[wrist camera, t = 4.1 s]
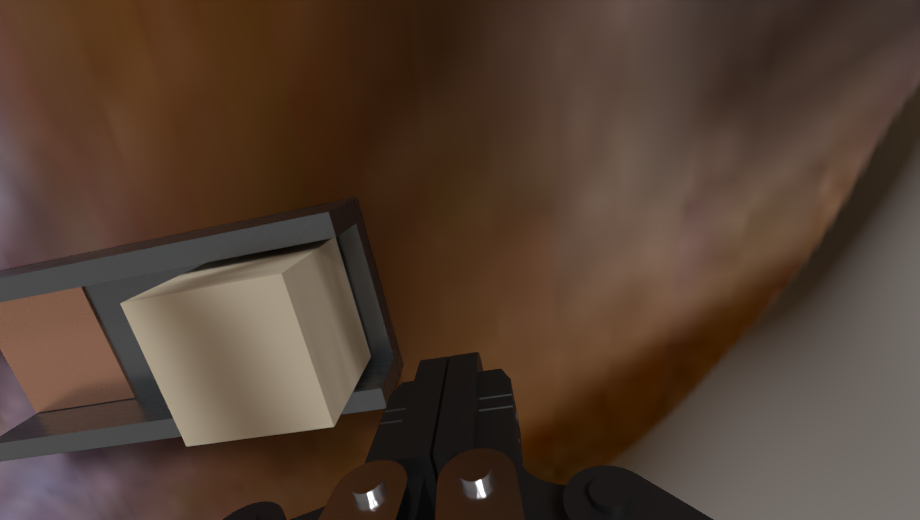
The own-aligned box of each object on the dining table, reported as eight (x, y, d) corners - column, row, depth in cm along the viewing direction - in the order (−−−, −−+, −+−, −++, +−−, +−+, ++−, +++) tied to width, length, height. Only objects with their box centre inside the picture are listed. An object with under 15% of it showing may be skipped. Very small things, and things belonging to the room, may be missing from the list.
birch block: (335, 236, 19) (281, 273, 14) (371, 356, 20) (334, 427, 16) (211, 260, 19) (120, 303, 15) (255, 374, 21) (186, 446, 16)
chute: (356, 197, 19) (328, 211, 16) (403, 365, 22) (387, 408, 18) (-14, 273, 22) (-105, 299, 18) (65, 415, 24) (-4, 461, 21)
